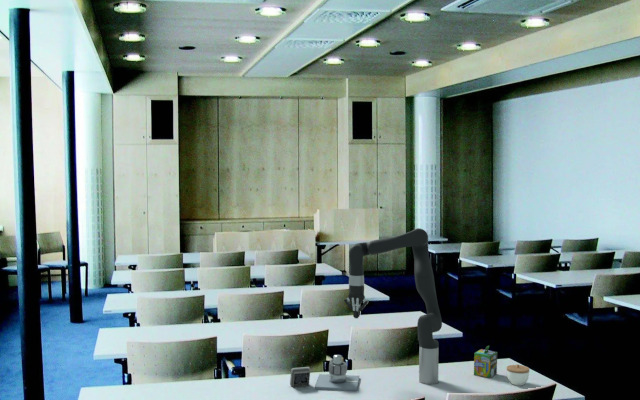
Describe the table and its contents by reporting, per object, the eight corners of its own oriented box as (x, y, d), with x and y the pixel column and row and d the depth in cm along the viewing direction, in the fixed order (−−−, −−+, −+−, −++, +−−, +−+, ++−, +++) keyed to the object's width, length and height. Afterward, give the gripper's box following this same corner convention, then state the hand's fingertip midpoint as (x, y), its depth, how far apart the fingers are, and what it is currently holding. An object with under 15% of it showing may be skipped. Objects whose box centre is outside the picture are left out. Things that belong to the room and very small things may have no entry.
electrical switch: (308, 383, 347) (308, 365, 346) (311, 387, 342) (311, 369, 341) (289, 385, 344) (290, 367, 343) (292, 389, 339) (292, 371, 338)
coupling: (331, 364, 358) (331, 356, 358) (348, 365, 357) (348, 357, 357) (328, 374, 342) (328, 365, 342) (345, 374, 341) (345, 366, 341)
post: (346, 378, 351) (346, 353, 350) (345, 383, 343) (345, 358, 342) (330, 378, 351) (330, 353, 351) (328, 383, 344) (328, 357, 343)
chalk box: (480, 370, 369) (480, 342, 368) (497, 374, 364) (497, 345, 363) (473, 375, 361) (473, 346, 361) (490, 378, 356) (490, 349, 355)
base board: (359, 378, 356) (359, 359, 355) (356, 391, 336) (356, 371, 336) (319, 376, 358) (319, 357, 358) (314, 389, 338) (314, 369, 338)
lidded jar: (533, 384, 346) (534, 365, 346) (517, 388, 341) (518, 369, 340) (517, 378, 355) (517, 360, 355) (501, 382, 350) (501, 363, 349)
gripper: (371, 283, 359) (371, 317, 360) (346, 281, 364) (346, 315, 365) (366, 286, 352) (366, 320, 353) (341, 284, 357) (341, 318, 358)
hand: (356, 318), depth 359 cm, fingers closed
